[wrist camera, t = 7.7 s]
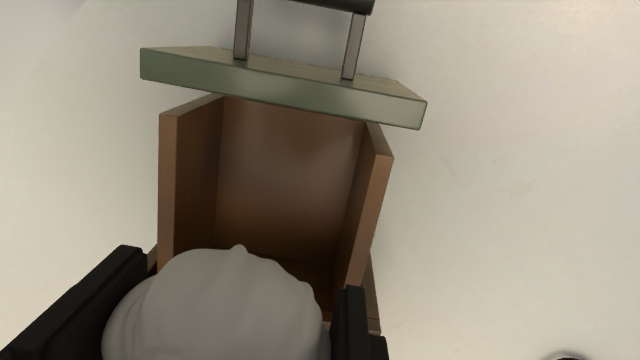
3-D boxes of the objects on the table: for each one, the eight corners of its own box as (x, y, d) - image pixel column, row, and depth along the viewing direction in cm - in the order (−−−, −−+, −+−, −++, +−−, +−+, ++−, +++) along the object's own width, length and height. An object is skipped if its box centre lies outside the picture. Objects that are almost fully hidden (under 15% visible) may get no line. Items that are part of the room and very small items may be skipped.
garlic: (373, 282, 11) (398, 464, 6) (283, 384, 13) (248, 589, 8) (204, 180, 10) (81, 300, 5) (131, 304, 12) (-11, 479, 7)
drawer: (213, -36, 20) (137, -81, 12) (418, 3, 20) (462, -19, 13) (196, 242, 26) (141, 319, 19) (352, 270, 26) (356, 358, 19)
